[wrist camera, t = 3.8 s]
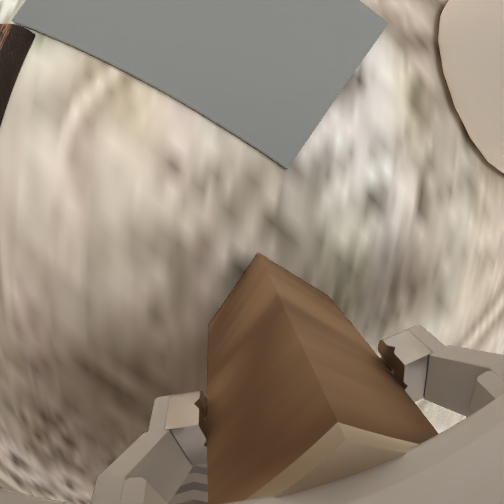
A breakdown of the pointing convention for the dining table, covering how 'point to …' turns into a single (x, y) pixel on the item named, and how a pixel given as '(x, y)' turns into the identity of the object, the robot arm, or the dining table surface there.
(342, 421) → the walnut block
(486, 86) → the white lidded jar
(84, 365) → the dining table surface
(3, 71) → the hardcover book
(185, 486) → the french press
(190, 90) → the rubber mat
